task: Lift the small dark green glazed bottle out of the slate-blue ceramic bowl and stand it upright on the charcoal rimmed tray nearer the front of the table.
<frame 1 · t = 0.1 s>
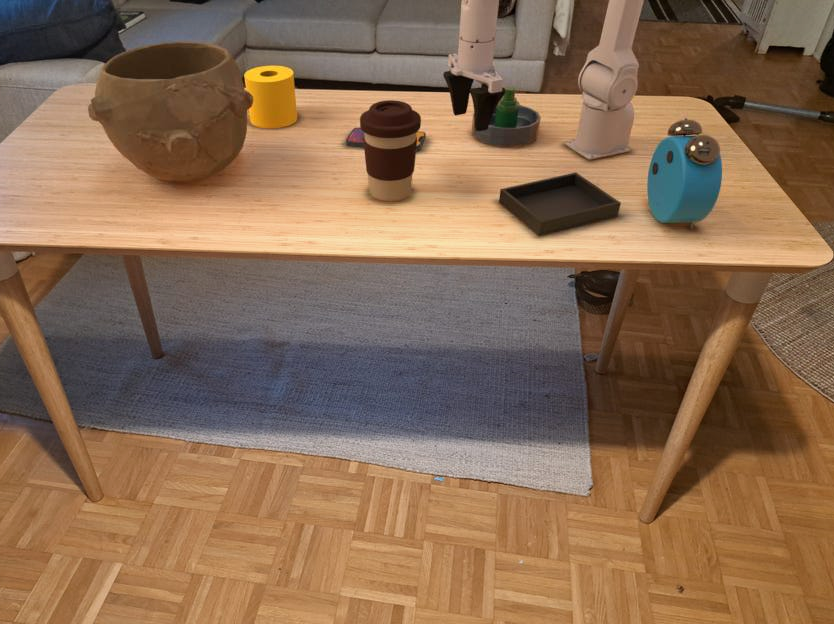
hand: (470, 121, 117), 10 cm above the table, tool pointing down, fingers open, 7 cm apart
bowl: (187, 171, 127), on the table
dish: (504, 135, 137), on the table
bottle: (504, 132, 136), resting on dish
yellow toilet paper roll: (273, 120, 145), on the table
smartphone: (386, 142, 135), on the table
alarm clock: (669, 219, 111), on the table
tray: (557, 209, 114), on the table
coffee cup: (390, 193, 119), on the table
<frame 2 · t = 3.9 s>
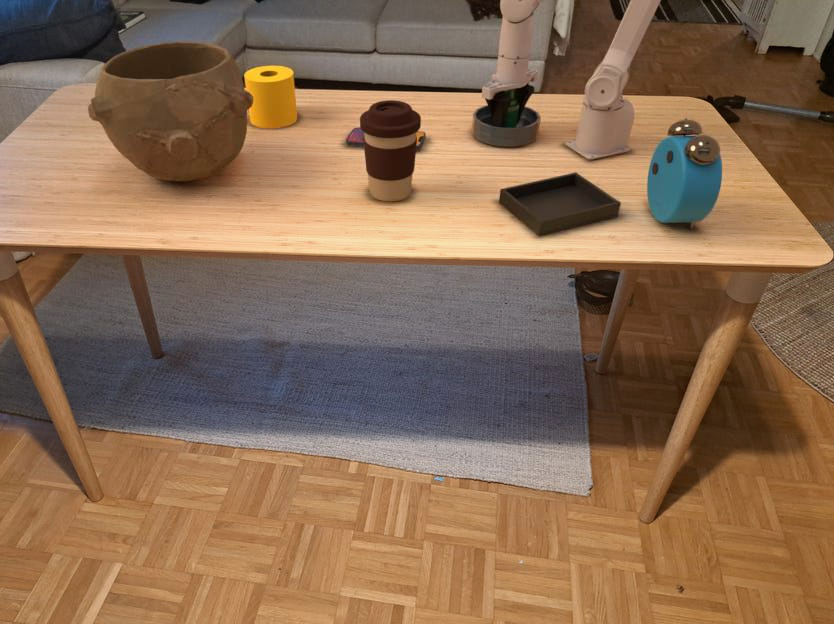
hand: (505, 125, 136), 2 cm above the table, tool pointing down, fingers closed on bottle, 4 cm apart
bottle: (504, 132, 136), point 1 cm above the table, touching dish, gripper
everything else where it was.
when the fingers open (2 cm above the table, at t = 10.4 s): bottle stays where it is, resting on tray.
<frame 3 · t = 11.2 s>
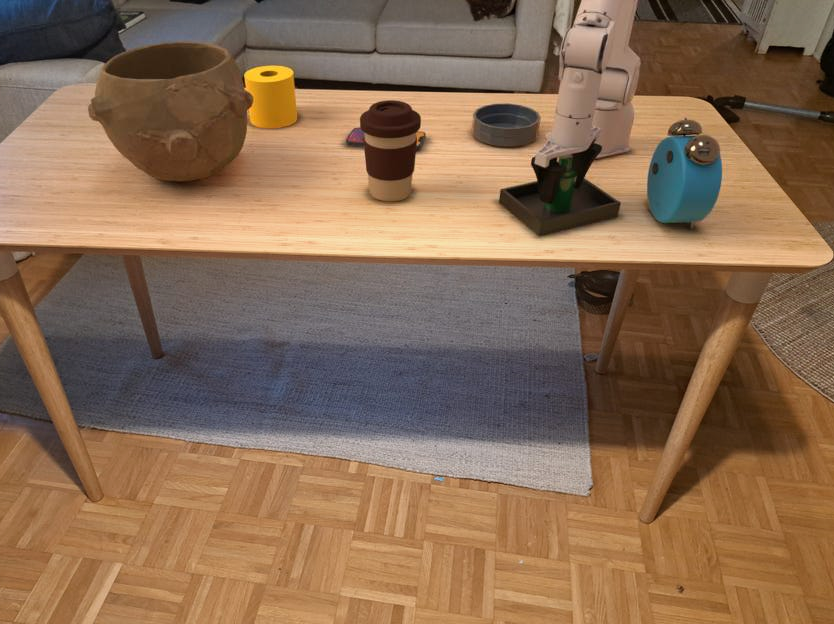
hand: (559, 193, 112), 3 cm above the table, tool pointing down, fingers open, 7 cm apart
bottle: (556, 206, 113), resting on tray
everything else where it was.
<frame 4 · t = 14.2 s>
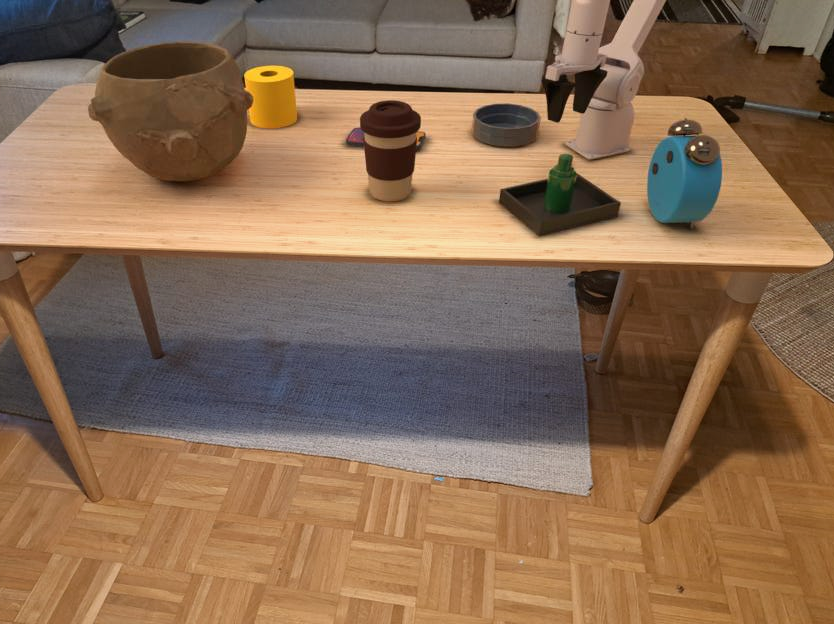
hand: (566, 116, 118), 10 cm above the table, tool pointing down, fingers open, 7 cm apart
nothing on the table moved.
at the end: bottle inside the target area in the tray (0.1 cm from its centre), point 0.5 cm above the tray's base; bottle tilted 0°; the gripper is holding nothing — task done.
